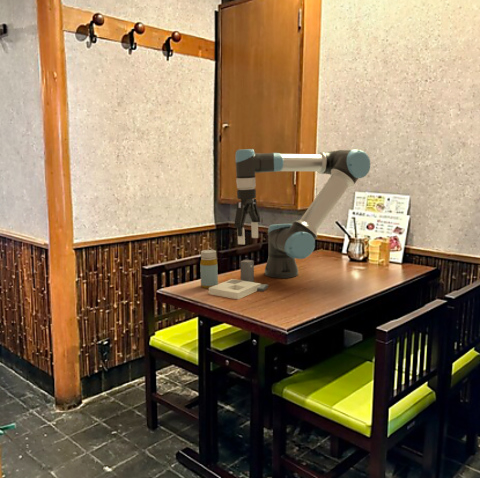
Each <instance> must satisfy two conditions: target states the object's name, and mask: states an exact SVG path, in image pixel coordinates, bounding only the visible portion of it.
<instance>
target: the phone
mask: <svg viewBox="0 0 480 478" xmlns="http://www.w3.org/2000/svg"><path fill="white" fill-rule="evenodd" d="M268 288H269V284H267V283H266V284H265V283H264V284H263V283H261V287H259V288H257V291H256V292H265V291H266V290H267V289H268Z"/></svg>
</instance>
